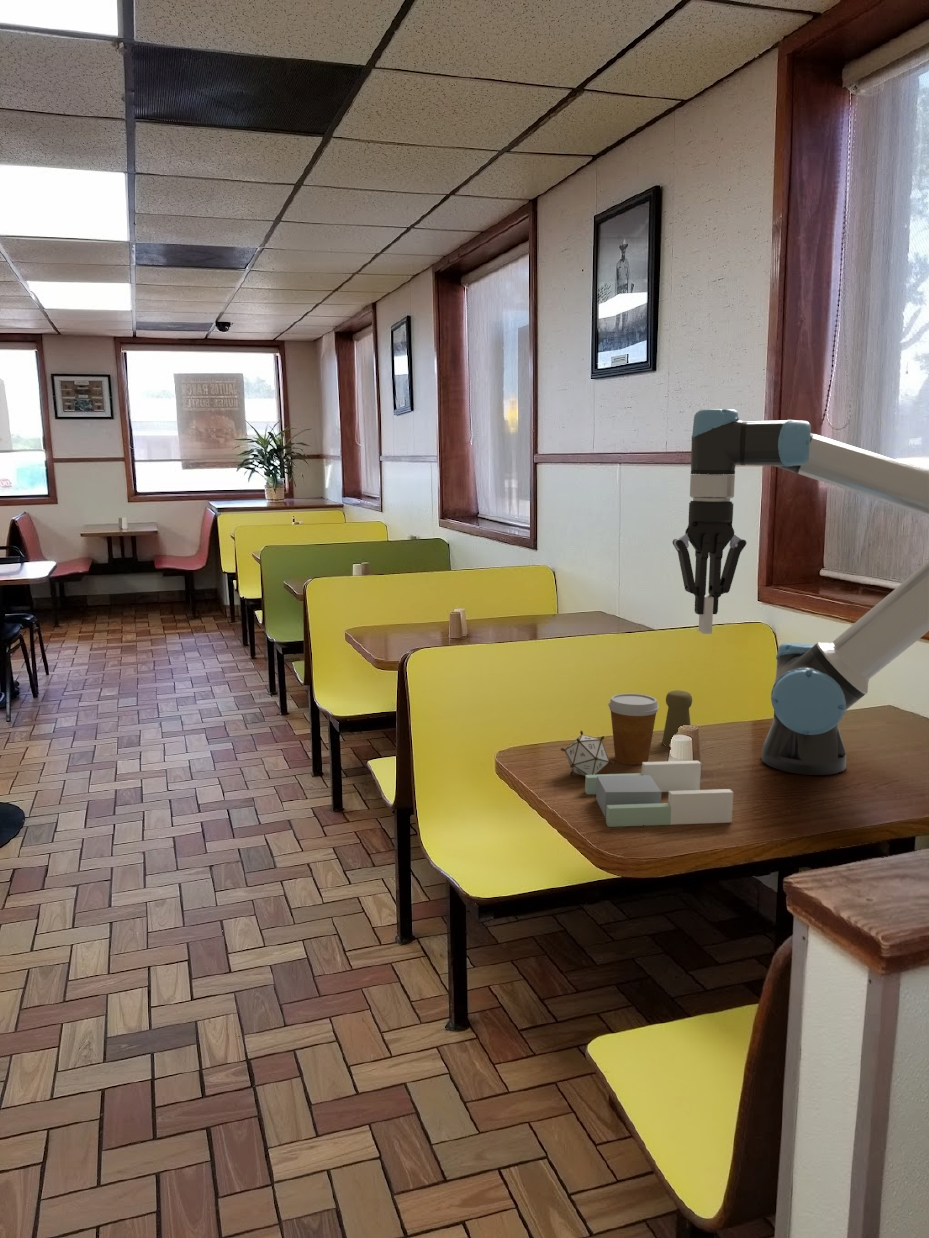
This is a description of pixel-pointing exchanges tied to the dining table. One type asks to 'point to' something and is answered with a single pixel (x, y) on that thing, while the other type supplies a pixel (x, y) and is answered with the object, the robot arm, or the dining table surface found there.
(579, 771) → the game die
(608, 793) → the slate block
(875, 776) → the dining table surface
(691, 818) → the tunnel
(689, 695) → the pepper mill
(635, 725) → the disposable coffee cup
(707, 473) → the robot arm
